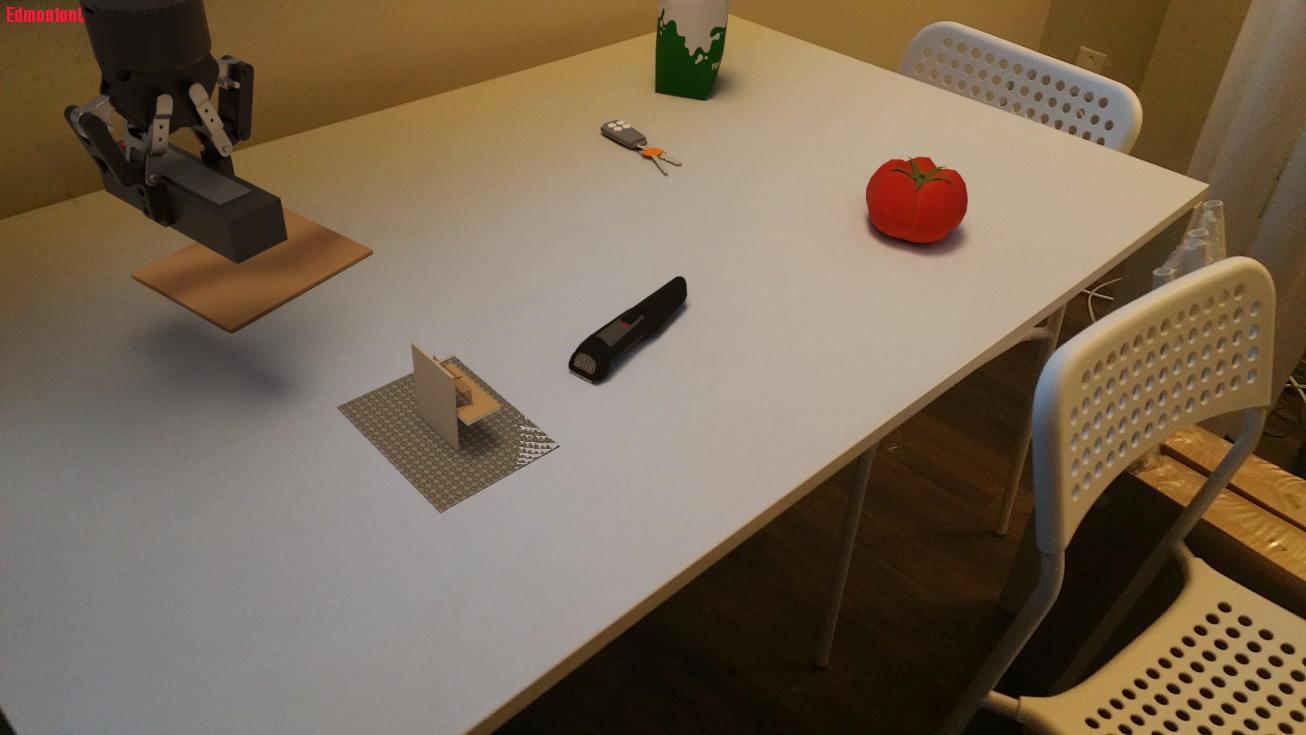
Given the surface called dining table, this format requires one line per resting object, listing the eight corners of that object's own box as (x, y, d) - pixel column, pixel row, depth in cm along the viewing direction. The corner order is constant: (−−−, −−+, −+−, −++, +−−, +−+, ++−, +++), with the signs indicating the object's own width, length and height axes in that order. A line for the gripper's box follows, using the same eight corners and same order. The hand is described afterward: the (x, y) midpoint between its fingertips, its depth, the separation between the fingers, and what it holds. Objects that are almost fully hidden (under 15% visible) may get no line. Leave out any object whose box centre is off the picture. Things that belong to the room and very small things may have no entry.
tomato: (972, 229, 111) (991, 169, 106) (927, 266, 104) (946, 204, 99) (888, 194, 116) (903, 136, 111) (840, 228, 109) (854, 167, 104)
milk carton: (661, 69, 140) (673, -80, 127) (723, 80, 139) (742, -70, 126) (646, 93, 133) (658, -62, 120) (712, 104, 132) (730, -51, 119)
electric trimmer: (696, 309, 95) (699, 282, 93) (598, 387, 85) (600, 358, 83) (664, 295, 97) (667, 267, 95) (564, 369, 86) (565, 340, 84)
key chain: (596, 134, 123) (597, 123, 122) (619, 127, 125) (620, 116, 124) (665, 176, 115) (666, 164, 114) (688, 167, 117) (690, 156, 116)
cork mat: (131, 277, 92) (130, 273, 92) (277, 207, 104) (276, 203, 104) (231, 333, 87) (230, 329, 87) (373, 253, 98) (372, 249, 98)
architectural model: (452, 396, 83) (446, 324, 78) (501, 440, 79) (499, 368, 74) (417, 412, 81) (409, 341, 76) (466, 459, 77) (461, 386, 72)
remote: (105, 191, 78) (91, 146, 76) (157, 170, 81) (145, 127, 79) (237, 264, 72) (227, 218, 69) (288, 239, 75) (280, 194, 73)
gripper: (196, -50, 72) (239, 162, 83) (-1, -4, 62) (76, 228, 73) (264, -24, 69) (300, 192, 80) (68, 28, 59) (139, 265, 70)
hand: (193, 208), depth 76 cm, fingers closed on remote, 4 cm apart
